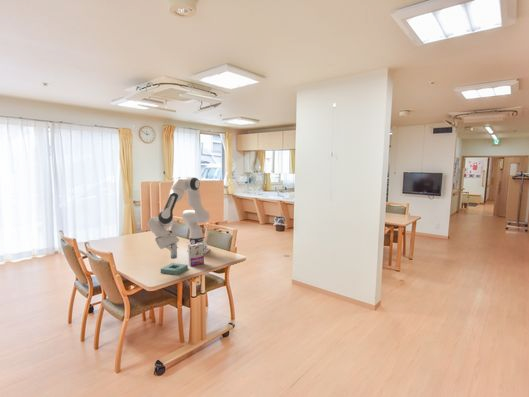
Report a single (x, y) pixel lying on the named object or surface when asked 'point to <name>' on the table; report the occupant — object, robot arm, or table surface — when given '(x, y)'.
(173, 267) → the block
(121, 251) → the table surface
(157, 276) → the table surface
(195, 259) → the candy bar box
